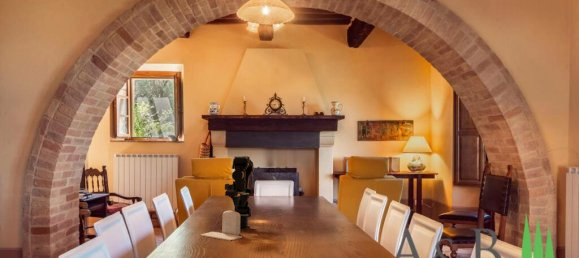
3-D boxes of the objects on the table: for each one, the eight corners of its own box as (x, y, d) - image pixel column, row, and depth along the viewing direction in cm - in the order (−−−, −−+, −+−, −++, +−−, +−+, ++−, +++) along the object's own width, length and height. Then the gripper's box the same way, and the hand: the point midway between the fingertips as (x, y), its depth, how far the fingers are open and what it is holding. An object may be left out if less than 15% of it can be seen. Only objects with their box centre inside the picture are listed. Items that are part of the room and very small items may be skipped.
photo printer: (241, 234, 237) (241, 211, 237) (236, 235, 233) (236, 212, 233) (225, 232, 242) (226, 209, 242) (220, 233, 238) (221, 210, 238)
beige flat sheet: (212, 232, 240) (212, 231, 240) (242, 237, 229) (242, 236, 229) (200, 235, 232) (200, 234, 232) (230, 240, 222) (230, 239, 222)
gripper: (239, 177, 256) (238, 204, 256) (217, 179, 240) (216, 208, 240) (254, 178, 250) (254, 206, 250) (233, 180, 234) (233, 210, 234)
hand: (239, 207), depth 244 cm, fingers open, 6 cm apart
